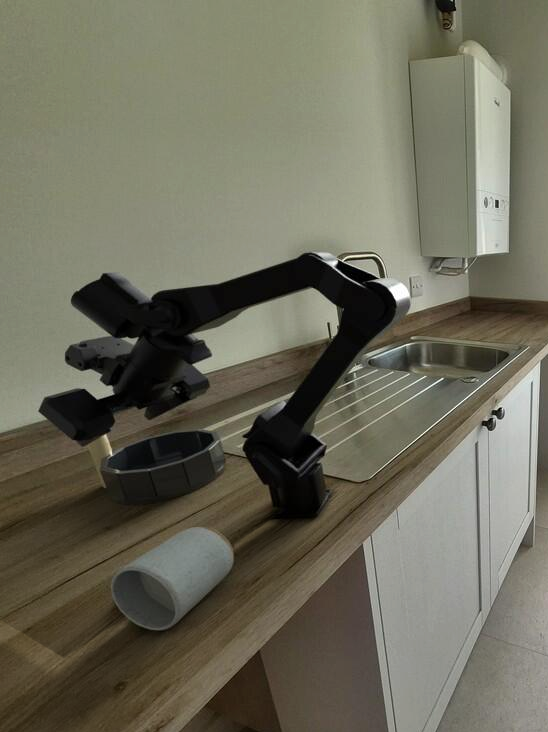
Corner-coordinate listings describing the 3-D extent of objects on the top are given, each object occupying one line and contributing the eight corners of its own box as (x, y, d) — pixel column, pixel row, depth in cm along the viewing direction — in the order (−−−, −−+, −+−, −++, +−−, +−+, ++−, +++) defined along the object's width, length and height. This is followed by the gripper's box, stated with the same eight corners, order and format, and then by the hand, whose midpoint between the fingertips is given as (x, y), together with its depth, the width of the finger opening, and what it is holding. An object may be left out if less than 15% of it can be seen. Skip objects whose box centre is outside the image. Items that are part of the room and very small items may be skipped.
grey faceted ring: (240, 452, 76) (224, 386, 72) (199, 498, 62) (176, 419, 58) (135, 462, 73) (111, 393, 68) (66, 512, 59) (32, 430, 55)
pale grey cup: (246, 574, 49) (231, 519, 46) (186, 635, 41) (164, 574, 39) (168, 567, 50) (149, 514, 48) (95, 625, 42) (68, 565, 40)
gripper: (174, 308, 63) (137, 373, 69) (18, 332, 46) (-16, 417, 51) (230, 359, 65) (189, 419, 70) (98, 401, 47) (57, 476, 52)
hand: (116, 429), depth 61 cm, fingers open, 9 cm apart
